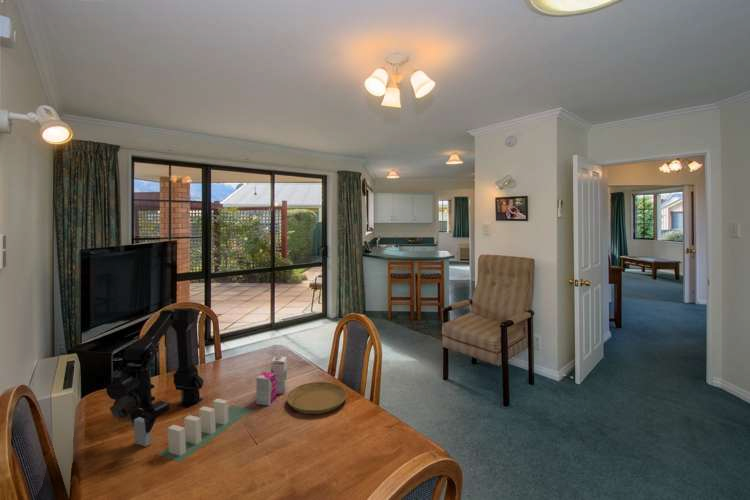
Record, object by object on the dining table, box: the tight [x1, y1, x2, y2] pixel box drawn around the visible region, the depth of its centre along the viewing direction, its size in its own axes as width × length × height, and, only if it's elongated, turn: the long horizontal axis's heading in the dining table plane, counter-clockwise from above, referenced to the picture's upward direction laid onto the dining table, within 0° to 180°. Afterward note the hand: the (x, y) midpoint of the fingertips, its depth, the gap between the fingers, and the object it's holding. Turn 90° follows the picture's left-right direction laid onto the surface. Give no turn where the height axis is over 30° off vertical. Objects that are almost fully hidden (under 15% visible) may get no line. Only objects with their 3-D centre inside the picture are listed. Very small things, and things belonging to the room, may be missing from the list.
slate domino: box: [133, 417, 153, 447], centre depth 113 cm, size 5×2×8 cm, turn 69°
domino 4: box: [212, 398, 229, 425], centre depth 126 cm, size 5×2×8 cm, turn 69°
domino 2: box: [183, 414, 202, 445], centre depth 115 cm, size 5×2×8 cm, turn 69°
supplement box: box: [255, 371, 277, 407], centre depth 141 cm, size 6×6×12 cm
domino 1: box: [167, 424, 186, 456], centre depth 110 cm, size 5×2×8 cm, turn 69°
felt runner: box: [157, 404, 253, 463], centre depth 122 cm, size 10×32×1 cm, turn 159°
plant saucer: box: [286, 381, 348, 415], centre depth 142 cm, size 24×24×3 cm
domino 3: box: [198, 406, 216, 434], centre depth 121 cm, size 5×2×8 cm, turn 69°
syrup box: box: [270, 356, 288, 395], centre depth 150 cm, size 6×6×14 cm
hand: (142, 430), depth 113 cm, fingers closed on slate domino, 5 cm apart
